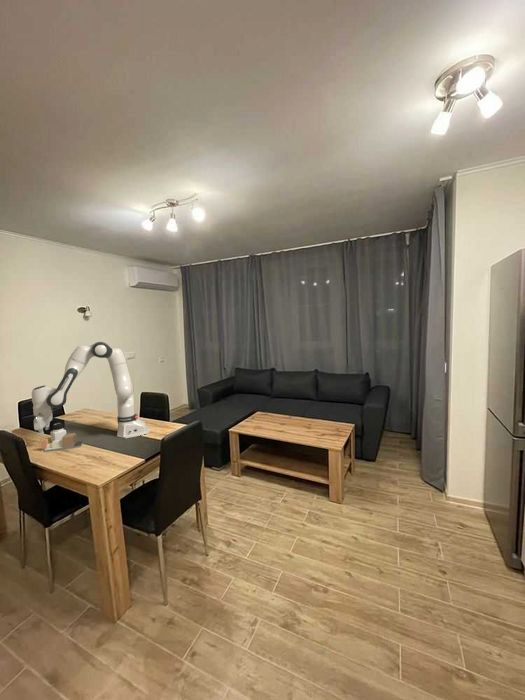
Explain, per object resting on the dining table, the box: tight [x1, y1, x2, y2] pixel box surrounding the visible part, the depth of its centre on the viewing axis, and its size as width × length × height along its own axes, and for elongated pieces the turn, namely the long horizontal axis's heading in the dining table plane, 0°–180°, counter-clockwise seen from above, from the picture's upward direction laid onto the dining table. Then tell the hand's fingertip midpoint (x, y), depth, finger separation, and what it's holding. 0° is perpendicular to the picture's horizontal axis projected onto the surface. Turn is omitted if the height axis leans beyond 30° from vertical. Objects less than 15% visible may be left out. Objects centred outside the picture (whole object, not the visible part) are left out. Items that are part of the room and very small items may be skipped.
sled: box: [40, 438, 63, 450], centre depth 188 cm, size 12×4×5 cm, turn 109°
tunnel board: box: [43, 432, 84, 453], centre depth 190 cm, size 20×8×8 cm, turn 109°
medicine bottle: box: [50, 422, 67, 443], centre depth 200 cm, size 7×7×12 cm
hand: (44, 432), depth 186 cm, fingers open, 8 cm apart
